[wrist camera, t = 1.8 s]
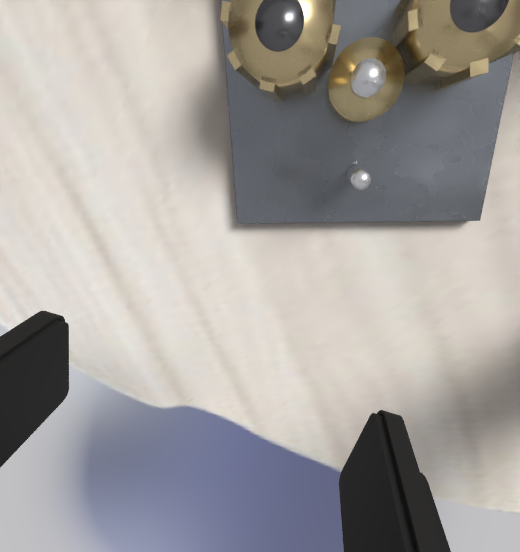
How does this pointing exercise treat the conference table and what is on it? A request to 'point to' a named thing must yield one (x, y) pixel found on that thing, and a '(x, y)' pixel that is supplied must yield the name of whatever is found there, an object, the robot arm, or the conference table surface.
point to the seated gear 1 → (281, 42)
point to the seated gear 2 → (454, 38)
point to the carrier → (364, 135)
